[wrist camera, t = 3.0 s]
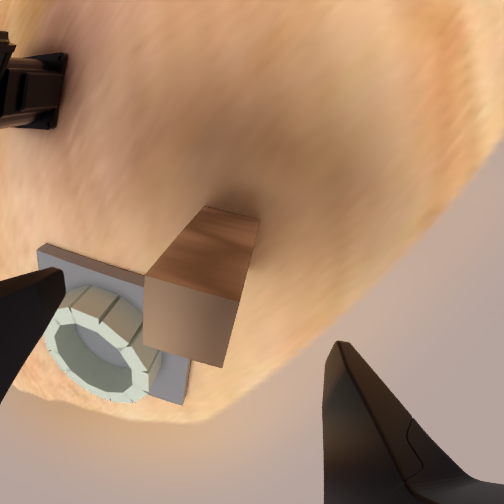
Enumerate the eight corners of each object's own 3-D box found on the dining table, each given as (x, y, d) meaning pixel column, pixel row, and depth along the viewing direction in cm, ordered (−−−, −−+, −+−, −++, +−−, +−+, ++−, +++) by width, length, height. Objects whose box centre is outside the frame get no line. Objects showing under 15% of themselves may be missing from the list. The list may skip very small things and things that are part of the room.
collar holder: (62, 347, 30) (41, 374, 25) (45, 243, 24) (12, 266, 19) (185, 395, 30) (173, 431, 25) (202, 292, 24) (184, 332, 19)
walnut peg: (195, 256, 23) (142, 344, 14) (204, 206, 21) (144, 275, 12) (247, 270, 23) (221, 368, 14) (260, 220, 21) (239, 302, 12)
